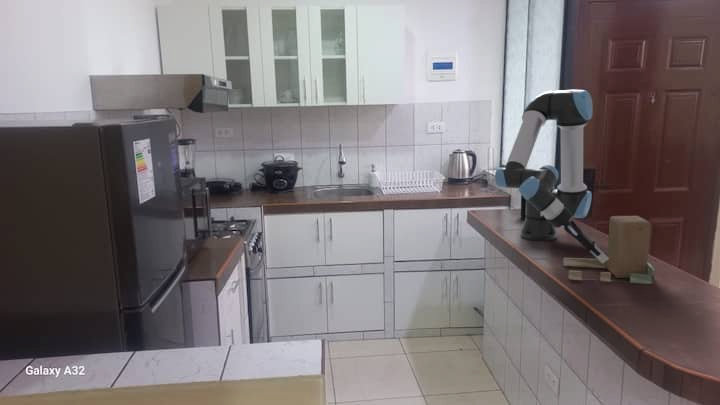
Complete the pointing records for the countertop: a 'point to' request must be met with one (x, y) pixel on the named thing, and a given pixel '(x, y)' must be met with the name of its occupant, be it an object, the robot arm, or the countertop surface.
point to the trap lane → (606, 276)
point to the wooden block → (628, 245)
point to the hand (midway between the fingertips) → (605, 260)
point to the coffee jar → (523, 207)
